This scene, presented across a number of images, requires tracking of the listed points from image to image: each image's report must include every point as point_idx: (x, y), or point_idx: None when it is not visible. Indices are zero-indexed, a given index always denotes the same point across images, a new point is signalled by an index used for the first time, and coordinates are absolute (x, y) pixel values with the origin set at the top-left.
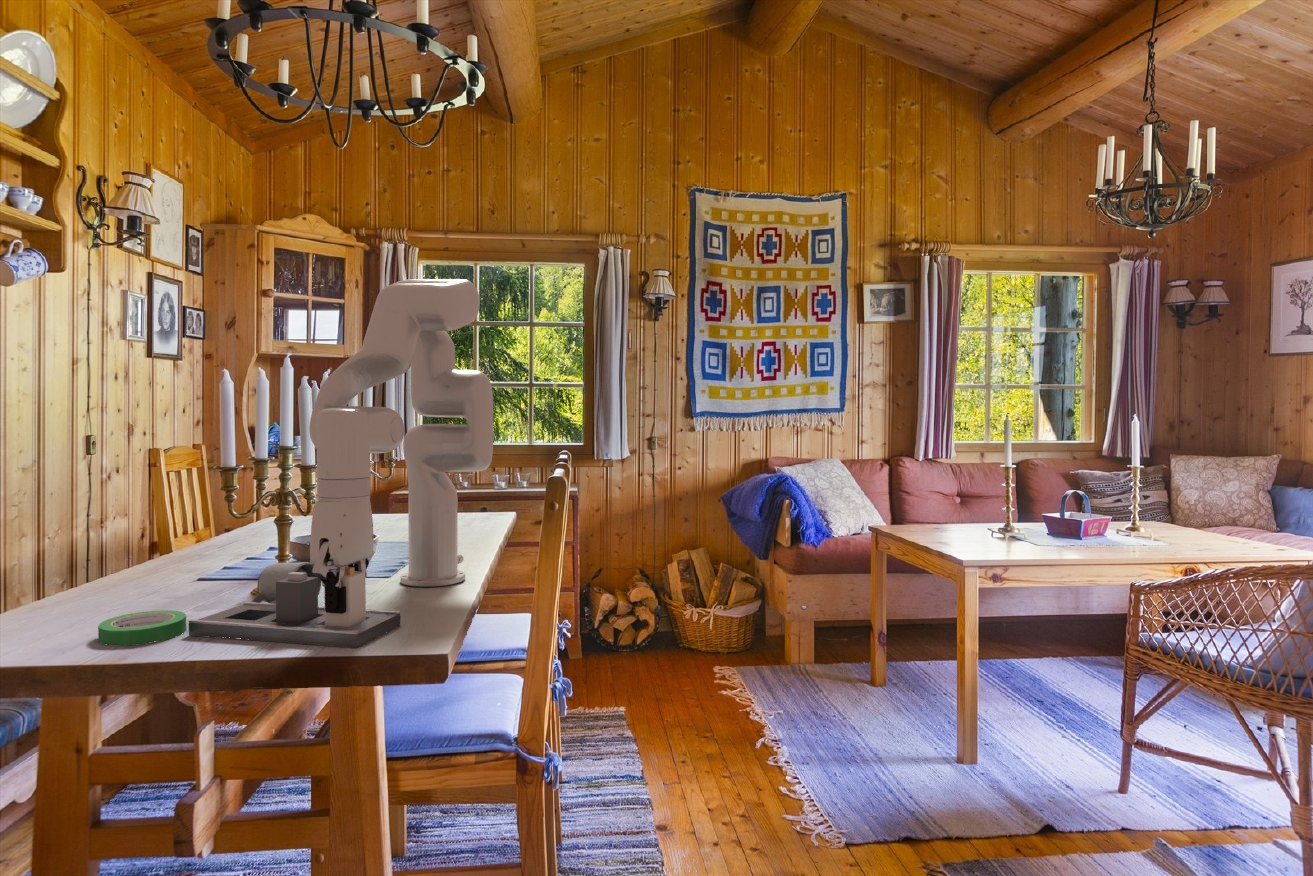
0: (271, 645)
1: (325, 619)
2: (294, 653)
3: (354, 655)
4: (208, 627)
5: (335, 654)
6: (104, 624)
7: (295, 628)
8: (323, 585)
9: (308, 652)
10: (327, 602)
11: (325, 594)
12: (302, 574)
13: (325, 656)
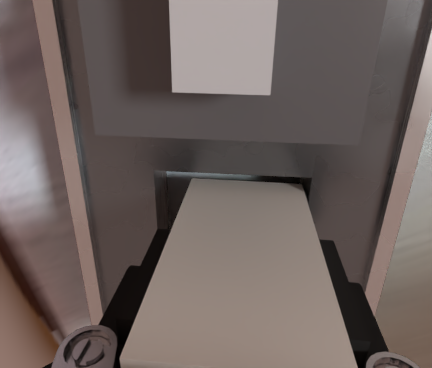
0: (38, 45)
1: (184, 197)
2: (7, 180)
3: (62, 325)
4: None
5: (50, 284)
6: None
7: (59, 138)
8: (70, 341)
9: (33, 213)
10: (121, 281)
11: (132, 284)
12: (193, 90)
13: (26, 270)
